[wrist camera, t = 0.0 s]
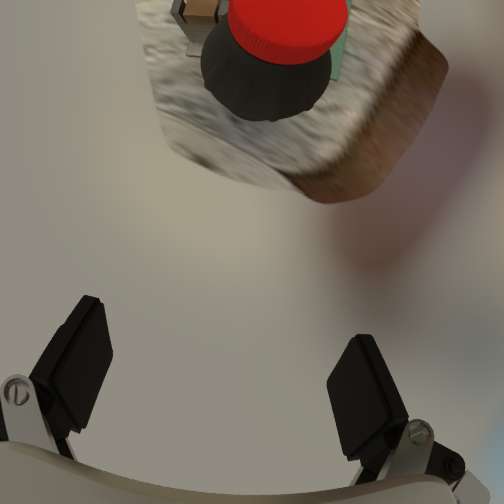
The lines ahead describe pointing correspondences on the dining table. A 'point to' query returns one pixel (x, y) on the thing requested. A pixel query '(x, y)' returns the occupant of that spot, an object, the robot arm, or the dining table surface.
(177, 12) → the rail stand
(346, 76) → the dining table surface
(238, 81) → the cola bottle
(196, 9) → the walnut rail
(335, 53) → the rubber mat
